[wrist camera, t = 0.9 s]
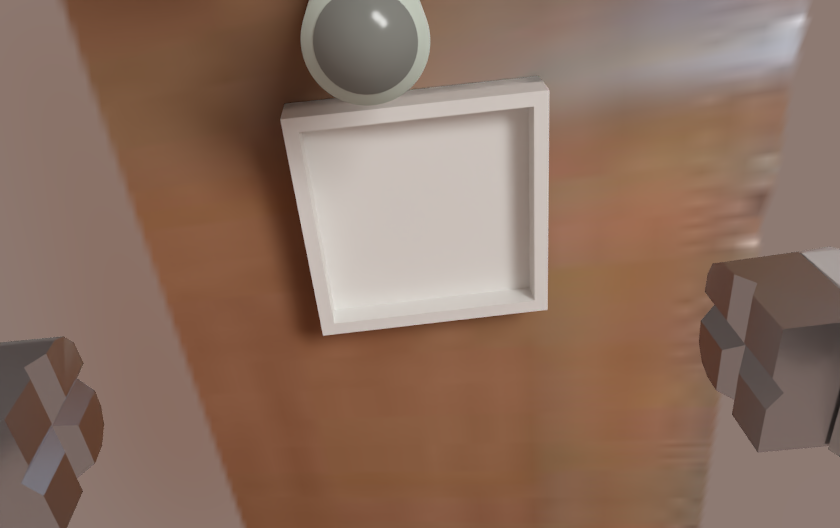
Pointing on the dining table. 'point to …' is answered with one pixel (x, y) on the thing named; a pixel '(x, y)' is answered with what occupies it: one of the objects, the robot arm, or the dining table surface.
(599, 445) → the dining table surface
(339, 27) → the sage cup
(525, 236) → the grey tray
